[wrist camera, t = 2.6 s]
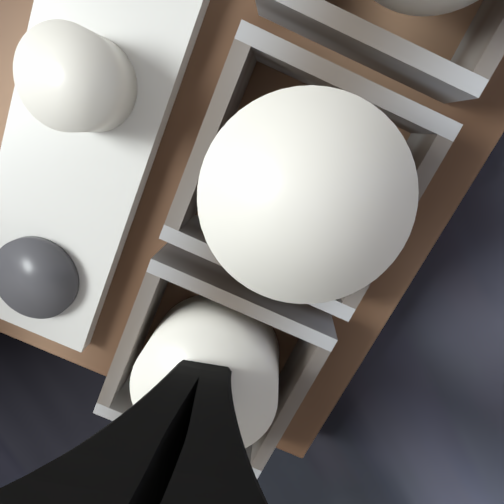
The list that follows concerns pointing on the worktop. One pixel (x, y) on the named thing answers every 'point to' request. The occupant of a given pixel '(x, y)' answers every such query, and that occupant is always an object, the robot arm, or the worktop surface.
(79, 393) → the worktop surface
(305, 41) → the console
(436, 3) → the button near
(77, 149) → the strip
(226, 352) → the button far
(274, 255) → the button mid
